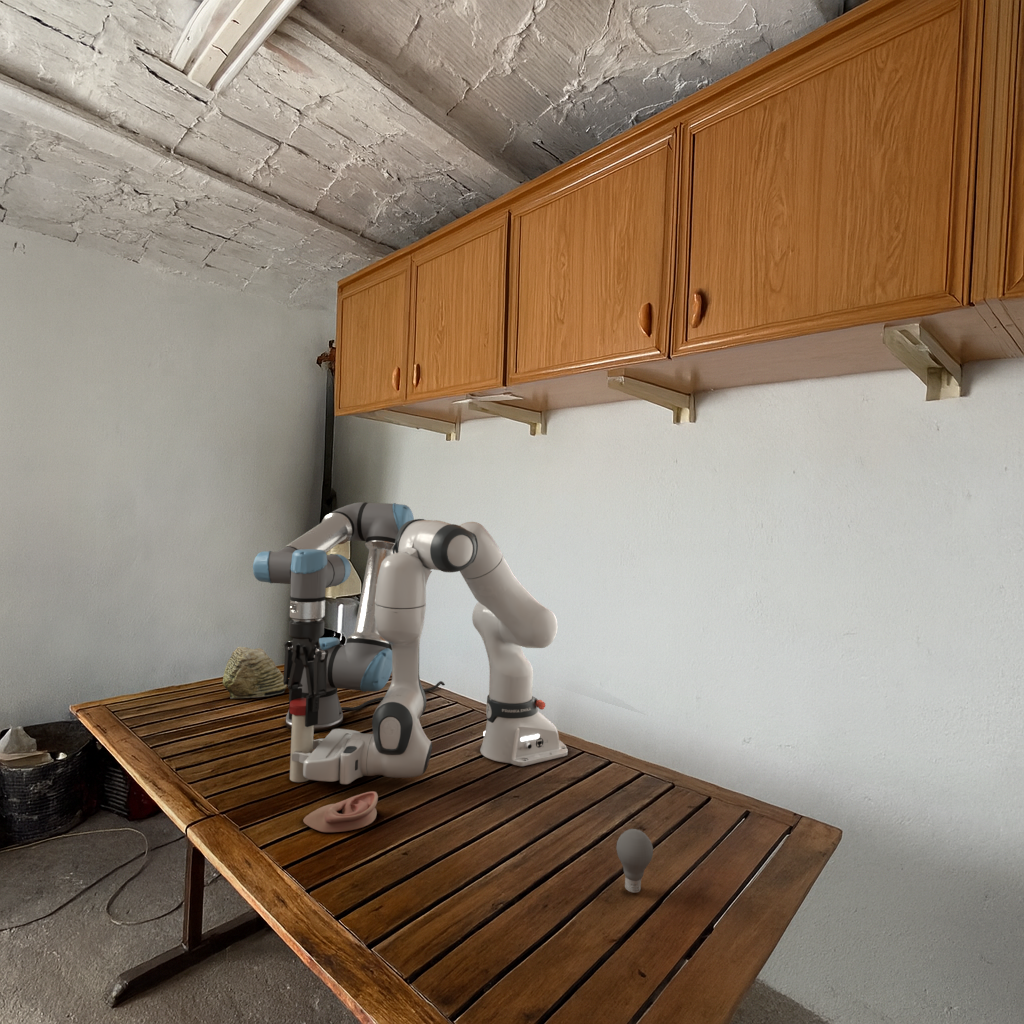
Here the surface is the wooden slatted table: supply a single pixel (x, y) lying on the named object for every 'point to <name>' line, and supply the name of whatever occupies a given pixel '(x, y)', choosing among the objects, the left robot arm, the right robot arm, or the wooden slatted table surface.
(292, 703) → the lid
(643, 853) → the light bulb
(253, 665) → the fossil
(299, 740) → the white cylindrical bottle
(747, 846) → the wooden slatted table surface
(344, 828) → the anatomical model
